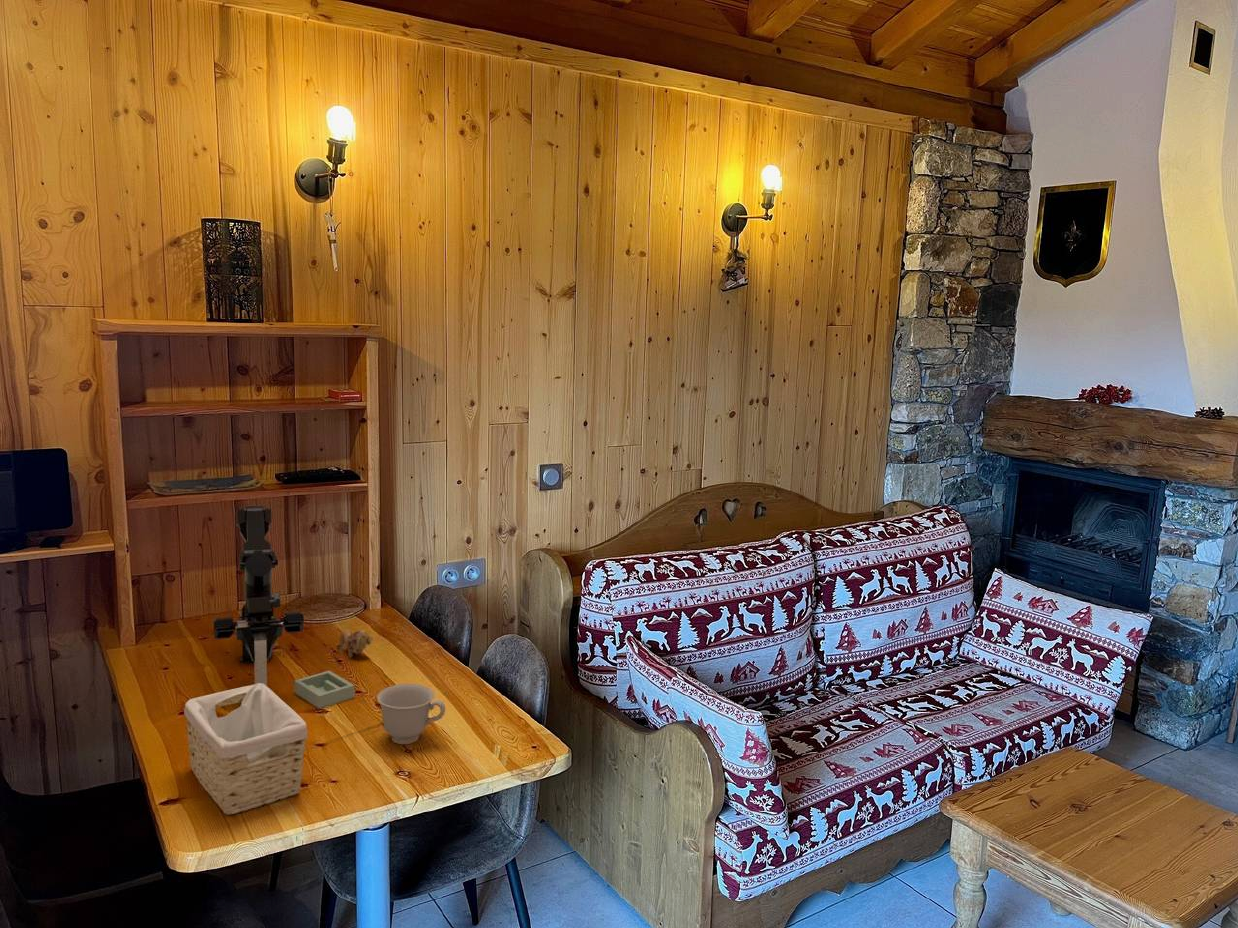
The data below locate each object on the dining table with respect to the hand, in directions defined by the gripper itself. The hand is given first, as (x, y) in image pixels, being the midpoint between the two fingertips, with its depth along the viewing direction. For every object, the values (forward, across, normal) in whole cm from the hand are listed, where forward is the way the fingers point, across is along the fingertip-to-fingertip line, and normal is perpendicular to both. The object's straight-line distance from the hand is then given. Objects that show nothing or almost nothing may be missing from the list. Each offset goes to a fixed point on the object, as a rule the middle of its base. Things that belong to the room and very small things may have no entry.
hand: (260, 660), depth 201 cm
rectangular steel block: (+3, 0, +5) cm, 6 cm away
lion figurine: (-10, +23, +30) cm, 39 cm away
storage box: (+6, +14, +12) cm, 19 cm away
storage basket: (+29, -4, -10) cm, 31 cm away
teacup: (+23, +30, -4) cm, 38 cm away
